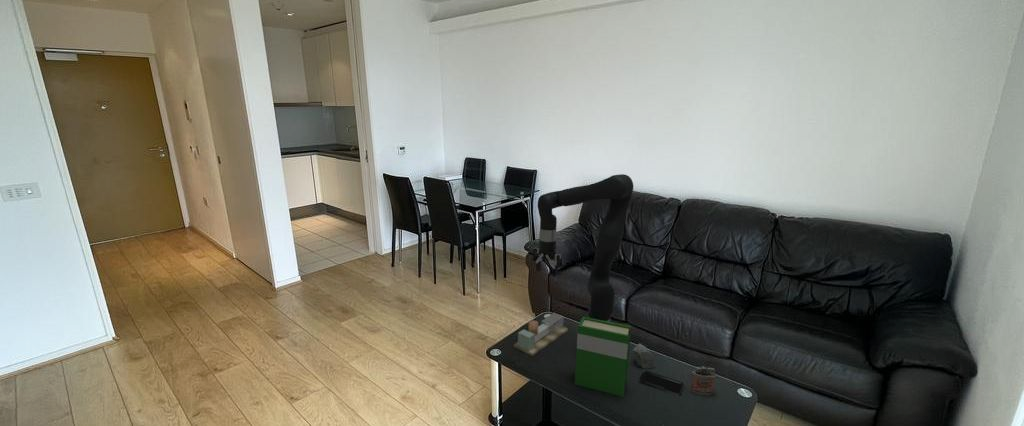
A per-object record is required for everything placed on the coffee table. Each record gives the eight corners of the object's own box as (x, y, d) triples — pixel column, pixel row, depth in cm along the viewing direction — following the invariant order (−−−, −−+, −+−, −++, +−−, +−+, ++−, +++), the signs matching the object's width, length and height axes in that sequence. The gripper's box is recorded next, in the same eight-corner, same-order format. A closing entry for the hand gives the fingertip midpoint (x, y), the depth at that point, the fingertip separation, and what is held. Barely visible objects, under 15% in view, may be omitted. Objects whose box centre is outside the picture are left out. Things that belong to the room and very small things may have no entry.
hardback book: (626, 384, 157) (631, 326, 151) (623, 396, 151) (628, 336, 145) (579, 372, 164) (582, 316, 158) (574, 384, 157) (578, 325, 151)
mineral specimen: (638, 354, 175) (644, 339, 172) (654, 369, 169) (660, 353, 165) (626, 359, 171) (631, 344, 168) (642, 374, 165) (648, 358, 161)
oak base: (550, 323, 201) (550, 321, 200) (568, 330, 194) (568, 328, 194) (513, 346, 181) (513, 344, 180) (532, 355, 174) (532, 353, 174)
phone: (643, 369, 165) (684, 383, 157) (643, 372, 165) (684, 385, 157) (638, 380, 158) (680, 395, 151) (637, 383, 159) (680, 397, 151)
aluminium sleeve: (553, 323, 199) (554, 312, 197) (563, 327, 195) (563, 316, 194) (541, 331, 191) (541, 320, 190) (550, 335, 188) (551, 324, 187)
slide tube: (544, 328, 192) (545, 311, 190) (552, 331, 190) (552, 314, 187) (521, 343, 179) (521, 326, 177) (528, 347, 177) (529, 329, 175)
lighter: (690, 393, 153) (694, 369, 150) (688, 387, 156) (691, 363, 154) (714, 396, 152) (718, 371, 149) (711, 390, 155) (715, 366, 152)
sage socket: (523, 342, 182) (523, 329, 181) (534, 347, 178) (534, 334, 177) (517, 346, 180) (518, 332, 178) (529, 351, 176) (529, 337, 174)
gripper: (529, 237, 185) (528, 271, 189) (556, 244, 176) (555, 280, 180) (539, 233, 190) (538, 267, 194) (566, 239, 181) (564, 275, 185)
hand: (546, 273), depth 187 cm, fingers open, 8 cm apart
